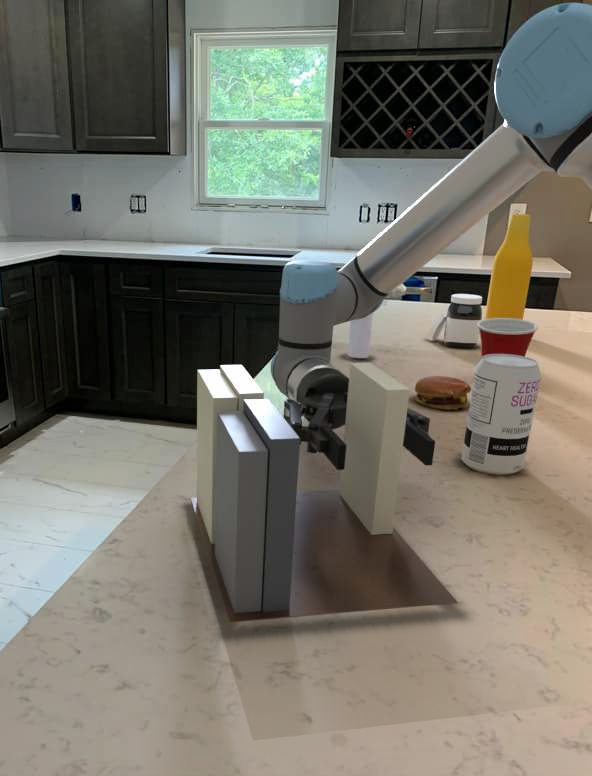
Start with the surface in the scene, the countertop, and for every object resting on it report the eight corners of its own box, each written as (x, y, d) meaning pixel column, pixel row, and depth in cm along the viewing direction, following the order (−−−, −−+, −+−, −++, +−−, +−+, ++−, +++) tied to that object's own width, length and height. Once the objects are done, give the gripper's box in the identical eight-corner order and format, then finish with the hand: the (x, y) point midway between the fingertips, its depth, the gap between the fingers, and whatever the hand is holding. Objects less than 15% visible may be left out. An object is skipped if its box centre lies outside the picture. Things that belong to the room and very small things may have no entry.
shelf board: (359, 499, 90) (360, 488, 89) (455, 616, 66) (458, 602, 66) (189, 509, 86) (189, 497, 86) (228, 636, 63) (229, 622, 62)
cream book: (357, 492, 88) (370, 362, 82) (392, 533, 78) (410, 389, 72) (338, 493, 88) (350, 362, 81) (371, 535, 78) (387, 389, 72)
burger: (417, 394, 134) (420, 369, 132) (469, 400, 131) (473, 375, 129) (410, 409, 125) (413, 382, 124) (466, 416, 123) (470, 389, 121)
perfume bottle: (351, 354, 162) (359, 261, 155) (375, 358, 160) (385, 263, 152) (340, 359, 158) (347, 263, 150) (364, 363, 155) (373, 266, 147)
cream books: (237, 498, 86) (241, 364, 80) (257, 541, 76) (264, 392, 70) (196, 500, 85) (197, 365, 79) (211, 544, 75) (213, 394, 69)
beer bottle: (474, 334, 187) (493, 213, 176) (493, 329, 193) (512, 213, 181) (508, 340, 181) (529, 215, 169) (526, 335, 186) (548, 215, 175)
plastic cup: (457, 384, 141) (466, 321, 137) (484, 374, 148) (494, 315, 144) (510, 396, 134) (522, 330, 130) (536, 386, 141) (548, 323, 137)
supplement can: (468, 452, 106) (485, 350, 101) (528, 463, 103) (548, 358, 97) (453, 469, 100) (470, 361, 94) (516, 482, 96) (537, 370, 90)
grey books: (262, 550, 74) (268, 398, 68) (289, 610, 64) (300, 438, 58) (214, 554, 73) (216, 400, 67) (234, 614, 63) (239, 440, 57)
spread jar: (479, 351, 168) (487, 300, 163) (429, 348, 170) (435, 297, 165) (472, 341, 179) (479, 292, 174) (425, 338, 180) (431, 290, 176)
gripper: (397, 418, 99) (477, 483, 79) (241, 424, 96) (283, 494, 75) (403, 364, 97) (488, 417, 76) (242, 368, 93) (286, 424, 72)
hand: (386, 455), depth 76 cm, fingers open, 9 cm apart
